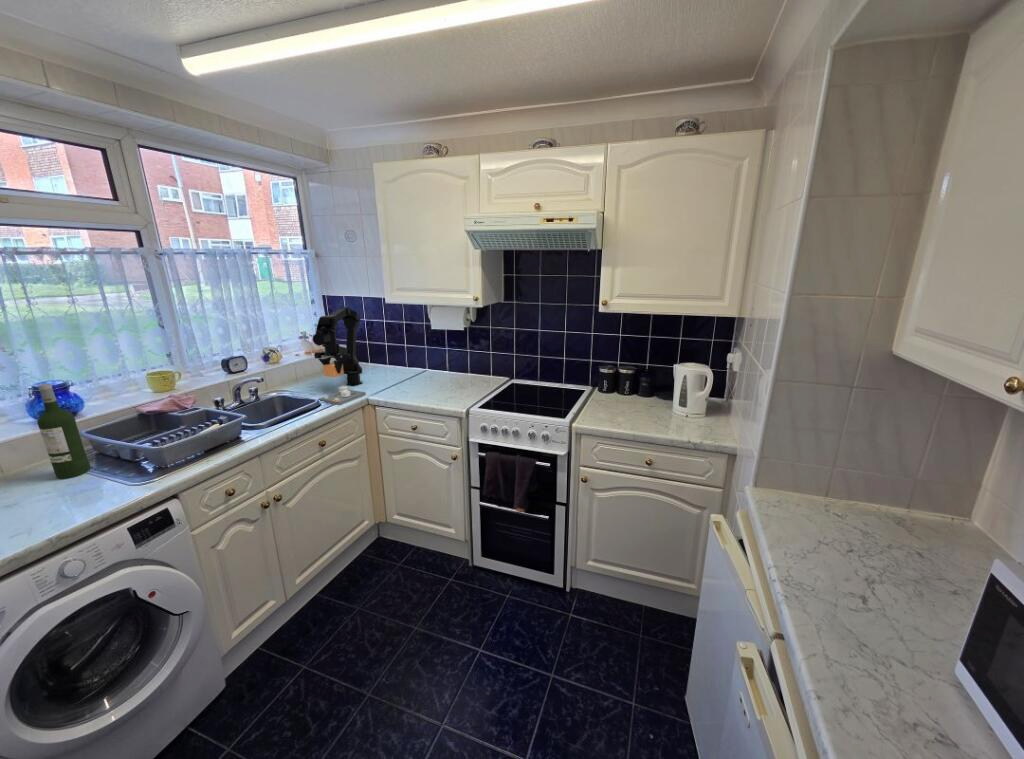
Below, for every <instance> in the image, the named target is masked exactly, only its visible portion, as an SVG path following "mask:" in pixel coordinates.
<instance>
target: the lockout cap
mask: <svg viewBox="0 0 1024 759" xmlns="http://www.w3.org/2000/svg"><path fill="white" fill-rule="evenodd" d="M322 368H323V374H324V377H329V378H330V377H331V378H336V377H339V376H342V375H345V374H344V370H343V364H342V368H341V372H340V373H338V372H337V370H336V367H335V364H334V362H330V364H326V365H323V364H322Z"/></svg>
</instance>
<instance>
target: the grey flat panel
mask: <svg viewBox="0 0 1024 759" xmlns="http://www.w3.org/2000/svg"><path fill="white" fill-rule="evenodd" d="M348 391H350V395H351V396H348V397H341V392H339V390H338V391H336V392H334V393H330V394H327V395H324V396H322V397H319V398H317V401H318V400H320V401H324V402H326V403H325V404H329V403H330V404H331V405H335V406H336V405H338V406H343V405H344V403H345V404H347V403H349V402H351V401H354V400H357V399H359V398H362V397H365V396H366V395H367V394H366V392H365V391H360V390H355V389H348Z"/></svg>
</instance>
